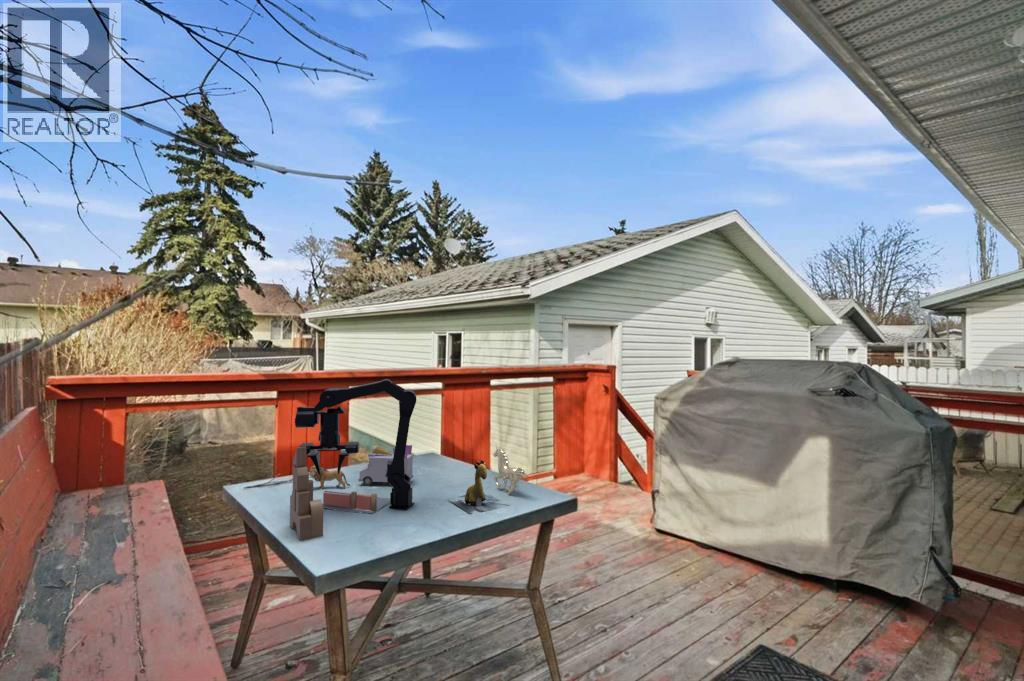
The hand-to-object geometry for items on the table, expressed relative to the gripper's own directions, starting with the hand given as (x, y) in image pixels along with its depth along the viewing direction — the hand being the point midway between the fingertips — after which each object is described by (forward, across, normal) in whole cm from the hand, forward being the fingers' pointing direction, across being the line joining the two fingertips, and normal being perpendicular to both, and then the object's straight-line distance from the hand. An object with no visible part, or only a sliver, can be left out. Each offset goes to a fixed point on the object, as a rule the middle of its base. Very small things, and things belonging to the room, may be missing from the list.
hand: (329, 474), depth 163 cm
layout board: (+12, -8, -5) cm, 16 cm away
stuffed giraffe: (+13, -49, 0) cm, 51 cm away
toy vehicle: (+12, -17, -28) cm, 35 cm away
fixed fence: (+12, -11, +2) cm, 17 cm away
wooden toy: (+12, +4, +16) cm, 20 cm away
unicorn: (+12, -62, -9) cm, 64 cm away
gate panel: (+11, -2, -3) cm, 12 cm away
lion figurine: (+12, +4, -25) cm, 28 cm away
